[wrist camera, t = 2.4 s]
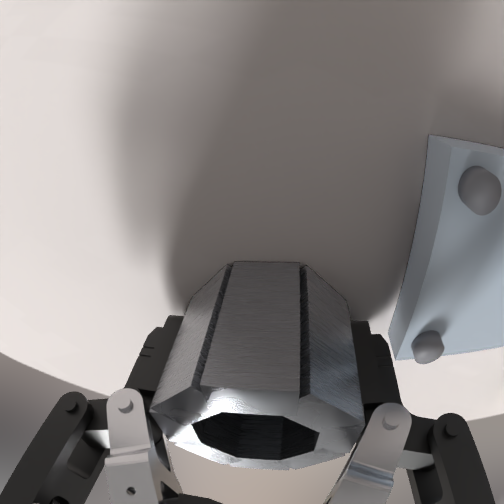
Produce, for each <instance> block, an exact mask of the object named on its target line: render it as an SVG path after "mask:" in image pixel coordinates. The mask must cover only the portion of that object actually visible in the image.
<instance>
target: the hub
mask: <svg viewBox="0 0 504 504" xmlns="http://www.w3.org/2000/svg"><path fill="white" fill-rule="evenodd" d="M350 323H351V320H350V314H349V309H348V305H347V302H346V300H345V299H344V298H343V297H342V296H341V295H340V294H339V293H337V292H336V291H335V290H334V289H333V288H332V287H331V286H330V285H328V284H327V283H326V282H325V281H324V280H323V279H322V278H321V277H319V276H318V275H317V274H316V273H315V272H314V271H313V270H311V269H310V268H309V267H308V266H307V265H306V266H304V267H303V268H302V269H301V270H299V262H234V264H233V268H232V267H231V266H229V265H228V264H227V265H226V266H225V267H224V268H223V269H222V270H221V271H219V272H218V273H217V274H216V275H215V276H214V277H213V278H212V279H211V280H210V281H209V282H208V283H207V284H205V285H204V286H203V287H202V288H201V289H200V290H199V291H198V292H197V293H196V294H195V295H194V296H193V297H192V299H191V301H190V304H189V306H188V309H187V311H186V314H185V316H184V319H183V321H182V324H181V326H180V329H179V331H178V334H177V337H176V339H175V342H174V344H173V347H172V350H171V352H170V355H169V357H168V360H167V363H166V365H165V368H164V371H163V373H162V376H161V379H160V381H159V384H158V387H157V390H156V392H155V395H154V398H153V401H152V403H151V406H150V411H149V412H150V414H151V415H152V417H153V418H154V420H155V421H156V423H157V424H158V426H159V427H160V429H161V430H162V431H163V433H164V434H165V436H166V437H167V439H168V440H169V441H171V442H174V444H175V445H177V446H179V447H181V448H183V449H186V450H188V451H190V452H193V453H195V454H197V455H200V456H203V457H205V458H207V459H210V460H213V461H215V462H218V463H221V464H223V465H224V464H230V466H234V467H244V468H256V469H272V470H273V469H274V470H289V468H292V469H300V468H304V467H307V466H311V465H315V464H318V463H322V462H326V461H329V460H332V459H335V458H339V457H342V456H345V453H350V451H351V449H352V448H353V445H354V444H355V443H356V441H357V439H358V437H359V436H360V434H361V432H362V430H363V428H364V427H365V418H364V409H363V404H362V401H361V393H360V385H359V377H358V370H357V363H356V356H355V349H354V343H353V337H352V331H351V325H350Z"/></svg>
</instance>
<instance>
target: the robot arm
mask: <svg viewBox="0 0 504 504" xmlns="http://www.w3.org/2000/svg"><path fill="white" fill-rule="evenodd" d="M183 319H184V316H175V315H169V316H168V318H167V320H166V322H165V325H164V327H163V328H162V327H156V328H155V329H154V330H153V331H152V332H151V333H150V334H149V335H148V337H147V339H146V341H145V343H144V345H143V348H142V350H141V352H140V354H139V356H138V358H137V360H136V363H135V365H134V367H133V369H132V372H131V374H130V376H129V378H128V381H127V383H126V385H125V387H124V388H123V389H120V390H117V391H116V392H114V393H113V394H112V395H111V396H110V397H109V398H108V399H98V400H87V399H86V398H85V396H84V395H83V394H81V393H79V392H69V393H66V394H65V395H63V396H62V397H61V398H60V399H59V401H58V402H57V404H56V405H55V407H54V408H53V410H52V411H51V413H50V414H49V416H48V417H47V419H46V420H45V422H44V423H43V425H42V426H41V428H40V430H39V431H38V433H37V434H36V436H35V438H34V439H33V440H32V442H31V444H30V445H29V447H28V448H27V450H26V452H25V453H24V455H23V457H22V458H21V460H20V462H19V463H18V465H17V467H16V468H15V470H14V472H13V473H12V475H11V477H10V479H9V480H8V482H7V484H6V486H5V487H4V489H3V491H2V493H1V495H0V504H84V503H85V501H86V499H87V497H88V495H89V494H90V492H91V489H92V488H93V486H94V484H95V482H96V480H97V478H98V476H99V474H100V473H101V471H102V469H103V467H104V465H105V471H106V478H107V486H108V492H109V498H110V504H222V503H219V502H217V501H214V500H212V499H209V498H203V497H198V496H192V495H187V494H183V491H182V488H181V486H180V483H179V481H178V479H177V477H176V475H175V472H174V469H173V465H172V461H171V457H170V453H169V449H168V444H167V440H166V436H165V434H164V433H163V431H162V430H161V429H160V427H159V426H158V424H157V423H156V421H155V420H154V418H153V417H152V415H151V414H150V412H149V411H150V406H151V403H152V401H153V398H154V395H155V392H156V390H157V387H158V384H159V381H160V379H161V376H162V373H163V371H164V368H165V365H166V363H167V360H168V357H169V355H170V352H171V350H172V347H173V344H174V342H175V339H176V337H177V334H178V331H179V329H180V326H181V324H182V321H183ZM350 325H351V331H352V337H353V343H354V349H355V356H356V363H357V370H358V377H359V385H360V393H361V401H362V404H363V409H364V418H365V427H364V428H363V430H362V432H361V434H360V436H359V437H358V439H357V441H356V444H355V446H354V448H353V451H352V452H351V454H350V456H349V458H348V460H347V462H346V464H345V466H344V468H343V470H342V472H341V474H340V476H339V478H338V480H337V482H336V483H335V485H334V487H333V488H332V490H331V492H330V493H329V495H328V496H327V498H326V500H325V502H324V503H323V504H386V502H387V499H388V497H389V495H390V493H391V490H392V487H393V483H394V481H393V475H394V472H395V470H396V467H399V468H405V469H406V470H407V474H408V477H409V481H410V485H411V489H412V493H413V497H414V501H415V504H495V501H494V498H493V494H492V491H491V488H490V485H489V482H488V479H487V476H486V473H485V470H484V467H483V464H482V461H481V458H480V455H479V453H478V450H477V448H476V445H475V442H474V440H473V437H472V435H471V432H470V430H469V427H468V425H467V423H466V421H465V420H464V419H463V418H462V417H461V416H460V415H458V414H455V413H447V414H444V415H442V416H440V417H439V418H438V419H437V420H434V419H428V418H422V417H418V416H415V415H413V414H411V413H410V412H409V411H408V410H407V409H406V408H405V407H404V406H403V404H402V402H401V398H400V393H399V389H398V384H397V379H396V375H395V371H394V367H393V362H392V358H391V354H390V350H389V346H388V343H387V342H386V341H385V339H384V338H383V337H382V336H381V334H371V331H370V327H369V323H368V321H351V323H350Z"/></svg>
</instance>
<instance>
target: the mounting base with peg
mask: <svg viewBox="0 0 504 504" xmlns="http://www.w3.org/2000/svg"><path fill="white" fill-rule="evenodd" d="M388 335H389V338H390V342H391V346H392V350H393V354H394V358H395V360H407V359H415V361H416V362H417V363H419V364H427V363H430V362H433V361H435V360H436V359H438V358H439V357H440V356H445V355H453V354H461V353H467V352H474V351H480V350H486V349H492V348H498V347H503V346H504V149H503V148H499V147H494V146H490V145H485V144H480V143H475V142H470V141H465V140H459V139H453V138H447V137H441V136H434V135H429V138H428V149H427V158H426V167H425V175H424V182H423V189H422V196H421V202H420V208H419V213H418V219H417V224H416V229H415V234H414V239H413V244H412V248H411V253H410V257H409V261H408V265H407V269H406V273H405V277H404V281H403V285H402V288H401V292H400V296H399V299H398V303H397V306H396V309H395V313H394V316H393V319H392V322H391V325H390V329H389V332H388Z"/></svg>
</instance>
